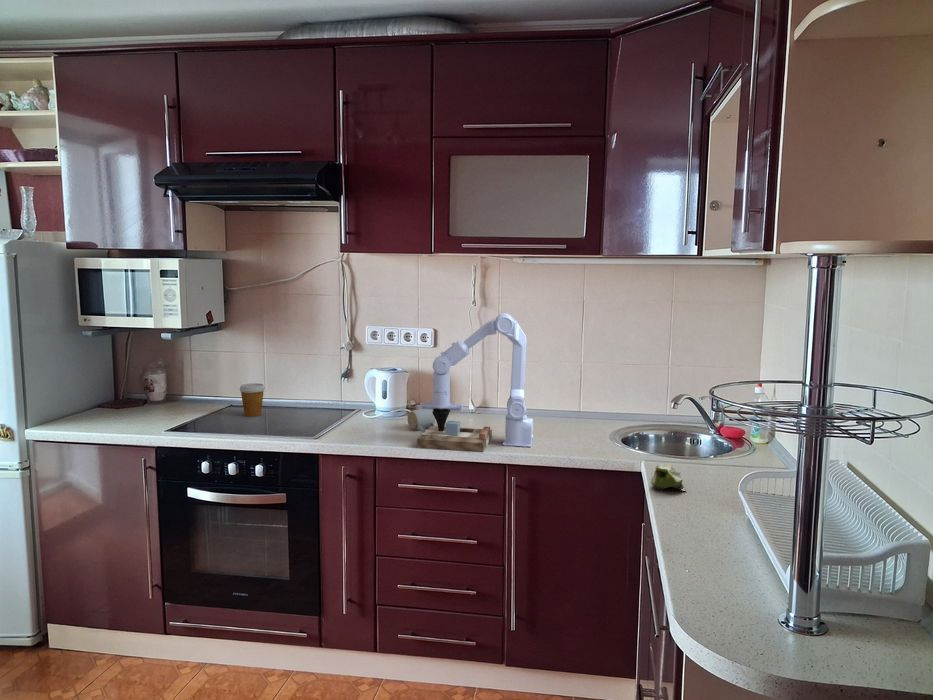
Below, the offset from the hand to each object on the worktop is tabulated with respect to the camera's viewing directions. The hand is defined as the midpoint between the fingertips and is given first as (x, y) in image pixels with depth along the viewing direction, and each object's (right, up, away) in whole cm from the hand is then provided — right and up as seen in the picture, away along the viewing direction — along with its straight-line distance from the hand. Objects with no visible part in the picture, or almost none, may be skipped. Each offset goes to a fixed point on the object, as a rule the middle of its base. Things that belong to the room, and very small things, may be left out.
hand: (441, 430), depth 224 cm
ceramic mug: (-7, -2, +17) cm, 19 cm away
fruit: (+63, -10, -44) cm, 78 cm away
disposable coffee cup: (-76, +1, +38) cm, 85 cm away
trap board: (+5, -4, -1) cm, 6 cm away
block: (+4, -1, -1) cm, 4 cm away
